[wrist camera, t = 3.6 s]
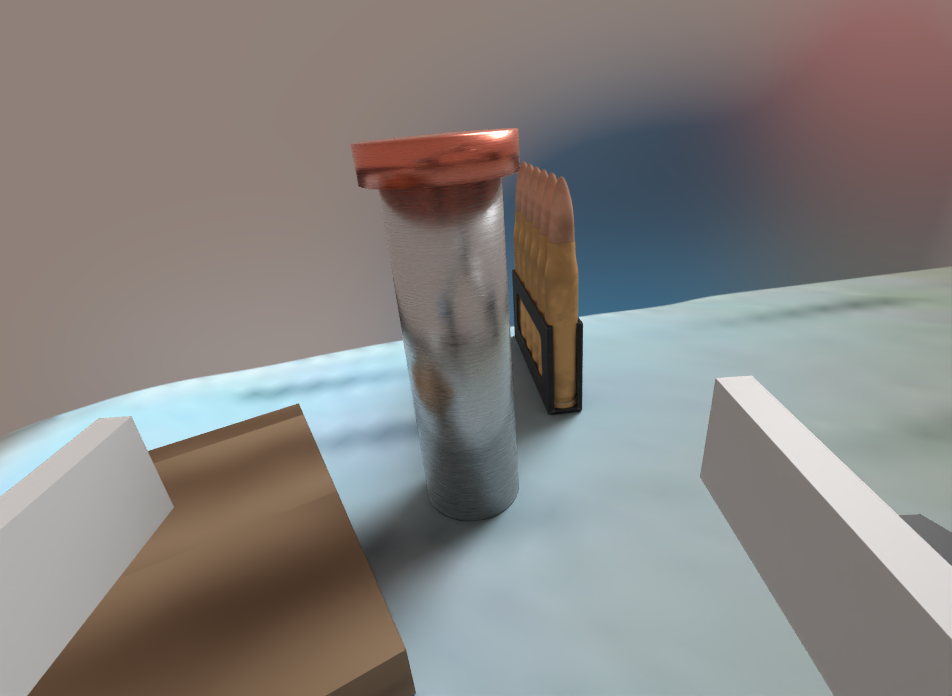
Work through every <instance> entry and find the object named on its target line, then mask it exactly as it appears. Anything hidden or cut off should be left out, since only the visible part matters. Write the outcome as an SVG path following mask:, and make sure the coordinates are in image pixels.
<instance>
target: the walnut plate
mask: <svg viewBox="0 0 952 696" xmlns="http://www.w3.org/2000/svg"><path fill="white" fill-rule="evenodd" d="M148 453H149V455H150V457H151V459H152V462H153V464H154V466H155V468H156V470H157V472H158V474H159V476H160V479H161V481H162V483H163V485H164V487H165V489H166V491H167V493H168V496H169V498H170V500H171V502H172V504H173V506H174V508H173V509H172V510H171V512H170V513H169V514H168V516H167V517H166V518H165V519H164V521H163V522H162V523H161V525H160V526H159V527H158V528H157V530H156V531H155V532H154V534H153V535H152V536H151V537H150V539H149V540H148V541H147V543H146V544H145V545H144V546H143V548H142V549H141V550H140V552H139V553H138V554H137V555H136V557H135V558H134V559H133V561H132V562H131V563H130V564H129V566H128V567H127V568H126V570H125V571H124V572H123V573H122V575H121V576H120V577H119V578H118V580H117V581H116V582H115V584H114V585H113V586H112V587H111V589H110V590H109V591H108V593H107V594H106V595H105V596H104V598H103V599H102V600H101V602H100V603H99V604H98V605H97V607H96V608H95V609H94V611H93V612H92V613H91V614H90V616H89V617H88V618H87V620H86V621H85V622H84V623H83V625H82V626H81V627H80V629H79V630H78V631H77V632H76V634H75V635H74V636H73V638H72V639H71V640H70V641H69V643H68V644H67V645H66V647H65V648H64V649H63V650H62V652H61V653H60V654H59V656H58V657H57V658H56V659H55V661H54V662H53V663H52V665H51V666H50V667H49V668H48V670H47V671H46V672H45V674H44V675H43V676H42V677H41V679H40V680H39V681H38V683H37V684H36V685H35V686H34V688H33V689H32V690H31V692H30V693H29V694H28V695H27V696H412V695H414V694H415V693H416V691H415V687H414V682H413V678H412V674H411V669H410V665H409V661H408V656H407V652H406V648H405V646H404V644H403V642H402V639H401V637H400V635H399V632H398V630H397V628H396V626H395V623H394V621H393V619H392V616H391V614H390V612H389V609H388V607H387V605H386V603H385V600H384V598H383V596H382V593H381V591H380V589H379V587H378V584H377V582H376V580H375V577H374V575H373V573H372V571H371V568H370V566H369V564H368V561H367V559H366V557H365V554H364V552H363V550H362V548H361V545H360V543H359V541H358V538H357V536H356V534H355V532H354V529H353V527H352V525H351V522H350V520H349V518H348V516H347V513H346V511H345V509H344V506H343V504H342V502H341V499H340V497H339V495H338V493H337V490H336V488H335V486H334V483H333V481H332V479H331V477H330V474H329V472H328V470H327V467H326V465H325V463H324V460H323V458H322V456H321V454H320V451H319V449H318V447H317V444H316V442H315V440H314V438H313V435H312V433H311V431H310V428H309V426H308V424H307V422H306V419H305V417H304V415H303V412H302V410H301V408H300V405H299V404H296V405H292V406H289V407H286V408H283V409H280V410H277V411H273V412H270V413H267V414H264V415H261V416H258V417H255V418H251V419H248V420H245V421H242V422H239V423H236V424H232V425H229V426H226V427H223V428H220V429H217V430H213V431H210V432H207V433H204V434H201V435H198V436H194V437H191V438H188V439H185V440H182V441H179V442H176V443H172V444H169V445H166V446H163V447H160V448H157V449H153V450H150V451H148Z"/></svg>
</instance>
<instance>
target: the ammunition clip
mask: <svg viewBox="0 0 952 696" xmlns="http://www.w3.org/2000/svg"><path fill="white" fill-rule="evenodd" d="M515 217H516V218H515V228H514V256H515V270H512V277H513V300H514V327H515V337H516V340H517V342H518V344H519V347H520V349H521V351H522V354H523V356H524V358H525V361H526V363H527V365H528V368H529V370H530V372H531V375H532V377H533V379H534V382H535V384H536V386H537V389H538V391H539V393H540V396H541V398H542V400H543V403H544V405H545V407H546V410H547V412H548V414H552V413H560V412H568V411H576V410H582V361H583V323H582V321H581V320H580V319H579V318H578V267H577V262H576V257H575V240H574V217H573V208H572V202H571V197H570V193H569V189H568V186H567V183H566V181H565V179H564V178H563V177H559V178H558V180H557V179H556V176H555V175H554V173H550V174H549V176H548V174H547V172H546V170H542V171H541V172H540V170H539V168H538V167H534V169H533V166H532V165H531V164H528V165H527V164H526V162H522V163H521V166H520V171H519V172H518V178H517V184H516V211H515Z"/></svg>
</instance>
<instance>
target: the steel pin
mask: <svg viewBox="0 0 952 696" xmlns="http://www.w3.org/2000/svg"><path fill="white" fill-rule="evenodd" d="M351 148H352V153H353V159H354V165H355V171H356V175H357V181H358V186H359V187H362V188H368V189H378V190H379V196H380V202H381V208H382V213H383V220H384V226H385V232H386V239H387V245H388V250H389V256H390V262H391V268H392V275H393V281H394V287H395V293H396V299H397V305H398V312H399V317H400V323H401V330H402V336H403V342H404V348H405V354H406V360H407V366H408V372H409V378H410V385H411V391H412V397H413V403H414V409H415V415H416V421H417V427H418V433H419V439H420V445H421V451H422V458H423V464H424V470H425V476H426V482H427V488H428V494H429V498H430V501H431V503H432V505H433V506H434V507H435V508H436V509H437V510H438V511H439V512H440V513H442V514H444V515H446V516H448V517H450V518H453V519H458V520H465V521H474V520H481V519H486V518H489V517H492V516H494V515H497V514H499V513H500V512H502V511H504V510H505V509H506V508H508V507H509V506H510V505H511V504H512V502H513V501H514V500H515V498H516V496H517V494H518V490H519V478H518V460H517V442H516V425H515V407H514V390H513V372H512V354H511V337H510V320H509V301H508V285H507V267H506V249H505V231H504V213H503V196H502V178H501V177H505V176H508V175H512V174H515V173H517V172H519V171H520V163H519V138H518V128H505V129H488V130H475V131H462V132H450V133H439V134H428V135H418V136H408V137H400V138H390V139H381V140H373V141H365V142H359V143H353V144H351Z"/></svg>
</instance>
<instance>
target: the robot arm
mask: <svg viewBox="0 0 952 696" xmlns="http://www.w3.org/2000/svg"><path fill="white" fill-rule="evenodd" d="M700 478H701V479H702V481H703V483H704V484H705V486H706V488H707V489H708V491H709V492H710V494H711V496H712V497H713V499H714V501H715V502H716V504H717V505H718V507H719V509H720V510H721V512H722V514H723V515H724V517H725V519H726V520H727V522H728V523H729V525H730V527H731V528H732V530H733V532H734V533H735V535H736V536H737V538H738V540H739V541H740V543H741V545H742V546H743V548H744V550H745V551H746V553H747V554H748V556H749V558H750V559H751V561H752V563H753V564H754V566H755V567H756V569H757V571H758V572H759V574H760V576H761V577H762V579H763V581H764V582H765V584H766V585H767V587H768V589H769V590H770V592H771V594H772V595H773V597H774V598H775V600H776V602H777V603H778V605H779V607H780V608H781V610H782V612H783V613H784V615H785V616H786V618H787V620H788V621H789V623H790V625H791V626H792V628H793V629H794V631H795V633H796V634H797V636H798V638H799V639H800V641H801V643H802V644H803V646H804V647H805V649H806V651H807V652H808V654H809V656H810V657H811V659H812V660H813V662H814V664H815V665H816V667H817V669H818V670H819V672H820V674H821V675H822V677H823V678H824V680H825V682H826V683H827V685H828V687H829V688H830V690H831V691H832V693H833V695H834V696H952V532H950V531H948V530H946V529H945V528H943V527H941V526H940V525H938V524H936V523H934V522H933V521H931V520H929V519H928V518H926V517H924V516H922V515H921V514H918V515H900V516H898V515H897V514H896V513H895V512H894V511H893V510H892V509H891V508H890V507H889V506H888V505H887V504H886V503H885V502H884V501H883V500H882V499H881V498H880V497H879V496H877V495H876V494H875V493H874V492H873V491H872V490H871V489H870V488H869V487H868V486H867V485H866V484H865V483H864V482H863V481H862V480H861V479H860V478H859V477H858V476H856V475H855V474H854V473H853V472H852V471H851V470H850V469H849V468H848V467H847V466H846V465H845V464H844V463H843V462H842V461H841V460H840V459H839V458H838V457H837V456H835V455H834V454H833V453H832V452H831V451H830V450H829V449H828V448H827V447H826V446H825V445H824V444H823V443H822V442H821V441H820V440H819V439H818V438H817V437H816V436H814V435H813V434H812V433H811V432H810V431H809V430H808V429H807V428H806V427H805V426H804V425H803V424H802V423H801V422H800V421H799V420H798V419H797V418H796V417H795V416H793V415H792V414H791V413H790V412H789V411H788V410H787V409H786V408H785V407H784V406H783V405H782V404H781V403H780V402H779V401H778V400H777V399H776V398H775V397H773V396H772V395H771V394H770V393H769V392H768V391H767V390H766V389H765V388H764V387H763V386H762V385H761V384H760V383H759V382H758V381H757V380H756V379H755V378H754V377H752V376H740V377H724V378H716V380H715V386H714V392H713V399H712V405H711V411H710V417H709V424H708V430H707V436H706V443H705V449H704V455H703V461H702V468H701V474H700ZM173 508H174V506H173V504H172V502H171V500H170V498H169V496H168V493H167V491H166V489H165V487H164V485H163V483H162V481H161V479H160V476H159V474H158V472H157V470H156V468H155V466H154V464H153V462H152V459H151V457H150V455H149V453H148V451H147V449H146V447H145V445H144V442H143V440H142V438H141V436H140V434H139V432H138V430H137V428H136V425H135V423H134V421H133V419H132V417H131V416H129V417H114V418H99V419H98V420H96V421H95V422H94V423H93V424H91V425H90V426H89V427H88V428H86V429H85V430H84V431H83V432H81V433H80V434H79V435H78V436H76V437H75V438H74V439H72V440H71V441H70V442H69V443H67V444H66V445H65V446H64V447H62V448H61V449H60V450H59V451H57V452H56V453H55V454H54V455H52V456H51V457H50V458H49V459H47V460H46V461H45V462H44V463H42V464H41V465H40V466H39V467H37V468H36V469H35V470H34V471H32V472H31V473H30V474H29V475H27V476H26V477H25V478H24V479H22V480H21V481H20V482H19V483H17V484H16V485H15V486H13V487H12V488H11V489H10V490H8V491H7V492H6V493H5V494H3V495H2V496H1V497H0V696H27V695H28V694H29V693H30V692H31V690H32V689H33V688H34V686H35V685H36V684H37V683H38V681H39V680H40V679H41V677H42V676H43V675H44V674H45V672H46V671H47V670H48V668H49V667H50V666H51V665H52V663H53V662H54V661H55V659H56V658H57V657H58V656H59V654H60V653H61V652H62V650H63V649H64V648H65V647H66V645H67V644H68V643H69V641H70V640H71V639H72V638H73V636H74V635H75V634H76V632H77V631H78V630H79V629H80V627H81V626H82V625H83V623H84V622H85V621H86V620H87V618H88V617H89V616H90V614H91V613H92V612H93V611H94V609H95V608H96V607H97V605H98V604H99V603H100V602H101V600H102V599H103V598H104V596H105V595H106V594H107V593H108V591H109V590H110V589H111V587H112V586H113V585H114V584H115V582H116V581H117V580H118V578H119V577H120V576H121V575H122V573H123V572H124V571H125V570H126V568H127V567H128V566H129V564H130V563H131V562H132V561H133V559H134V558H135V557H136V555H137V554H138V553H139V552H140V550H141V549H142V548H143V546H144V545H145V544H146V543H147V541H148V540H149V539H150V537H151V536H152V535H153V534H154V532H155V531H156V530H157V528H158V527H159V526H160V525H161V523H162V522H163V521H164V519H165V518H166V517H167V516H168V514H169V513H170V512H171V510H172V509H173Z"/></svg>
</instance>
